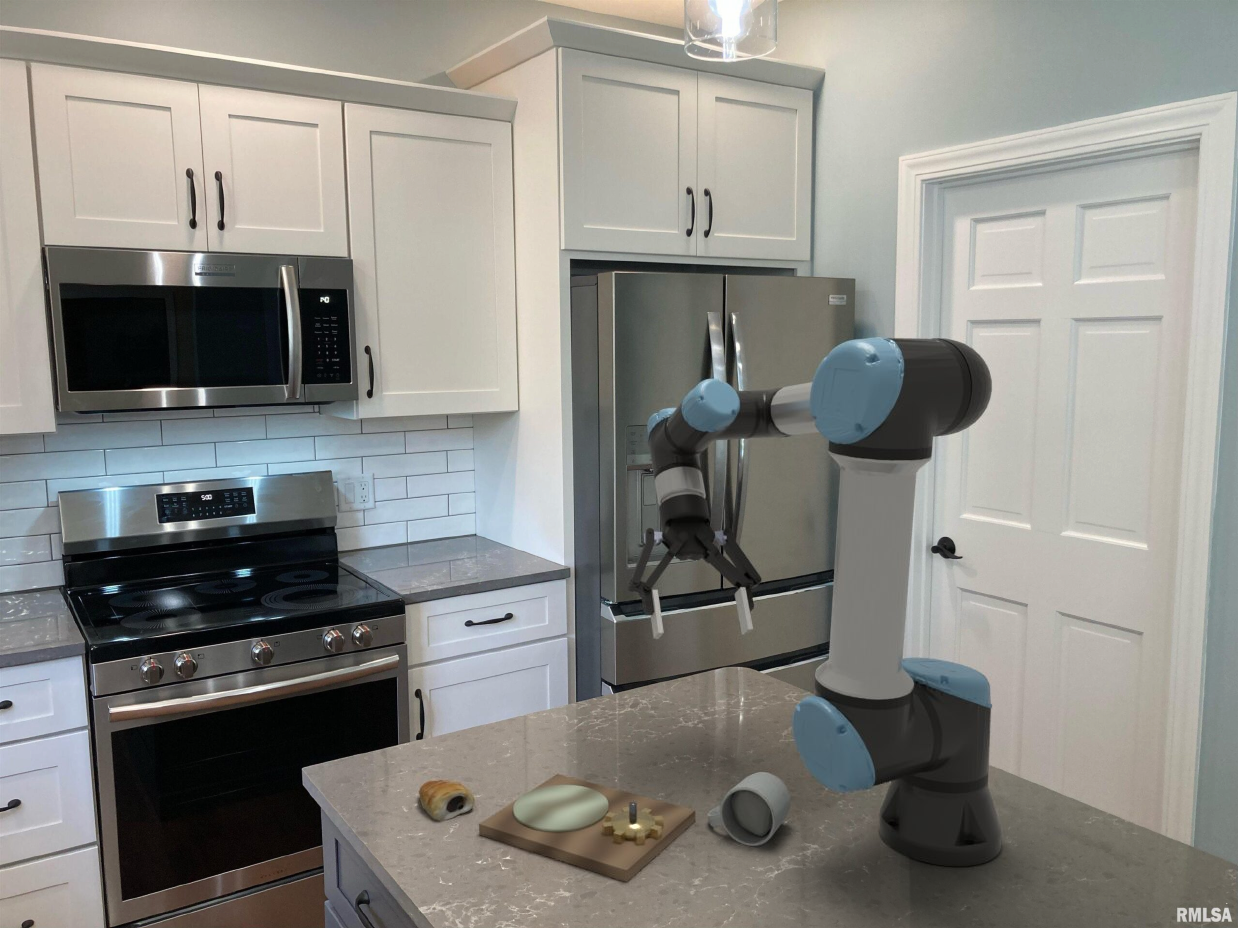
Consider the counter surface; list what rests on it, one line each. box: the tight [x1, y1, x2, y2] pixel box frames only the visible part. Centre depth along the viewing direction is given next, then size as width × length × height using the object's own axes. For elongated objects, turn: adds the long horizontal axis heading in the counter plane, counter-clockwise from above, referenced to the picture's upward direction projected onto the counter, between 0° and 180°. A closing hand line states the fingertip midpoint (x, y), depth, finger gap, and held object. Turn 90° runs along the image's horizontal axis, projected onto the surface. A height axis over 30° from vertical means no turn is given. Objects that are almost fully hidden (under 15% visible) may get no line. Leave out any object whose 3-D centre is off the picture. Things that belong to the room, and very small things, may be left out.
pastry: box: [418, 779, 476, 822], centre depth 135 cm, size 9×7×4 cm
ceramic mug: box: [707, 771, 792, 847], centre depth 127 cm, size 11×8×8 cm
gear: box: [602, 802, 664, 845], centre depth 124 cm, size 8×8×4 cm
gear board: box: [478, 773, 696, 883], centre depth 128 cm, size 23×18×2 cm
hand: (703, 634), depth 138 cm, fingers open, 13 cm apart
